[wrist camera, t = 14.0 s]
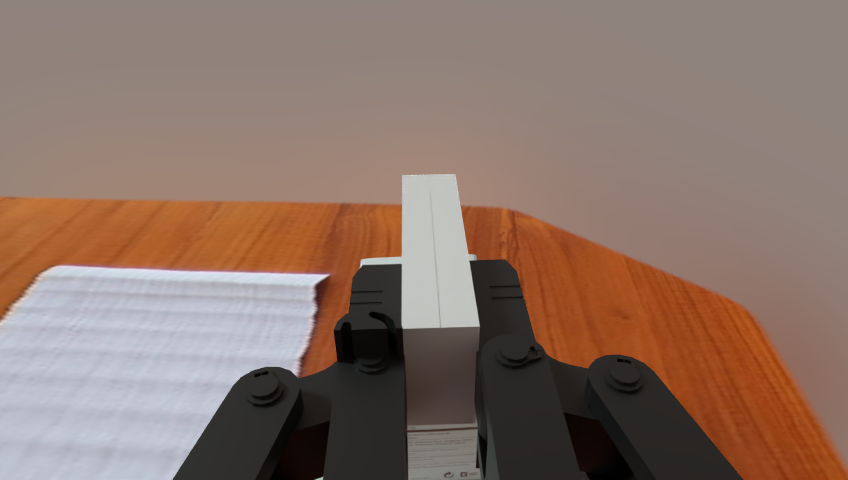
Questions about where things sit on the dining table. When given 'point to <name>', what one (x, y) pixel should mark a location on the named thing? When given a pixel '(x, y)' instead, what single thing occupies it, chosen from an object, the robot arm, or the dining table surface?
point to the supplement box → (439, 437)
